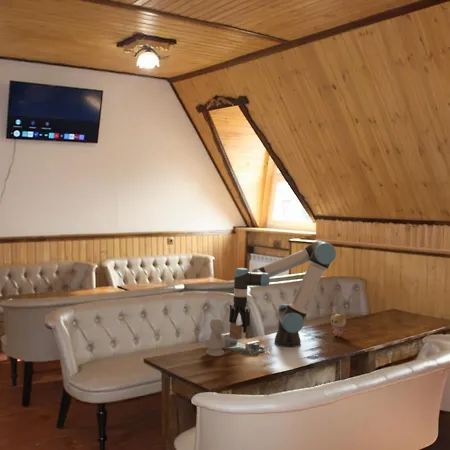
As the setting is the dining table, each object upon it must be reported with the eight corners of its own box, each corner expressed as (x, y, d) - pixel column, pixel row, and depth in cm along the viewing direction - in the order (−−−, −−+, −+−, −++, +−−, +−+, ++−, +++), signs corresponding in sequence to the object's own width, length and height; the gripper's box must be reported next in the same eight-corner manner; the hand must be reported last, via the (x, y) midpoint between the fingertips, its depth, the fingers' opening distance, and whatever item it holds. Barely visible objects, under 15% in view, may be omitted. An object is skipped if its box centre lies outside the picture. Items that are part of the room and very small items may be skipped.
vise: (234, 343, 340) (235, 331, 339) (264, 351, 325) (264, 338, 324) (220, 347, 331) (220, 334, 331) (249, 355, 316) (250, 342, 316)
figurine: (229, 353, 320) (230, 317, 319) (214, 357, 310) (216, 321, 309) (215, 349, 326) (217, 315, 325) (201, 354, 316) (202, 318, 315)
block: (240, 335, 335) (240, 321, 334) (248, 337, 330) (248, 323, 330) (229, 337, 328) (229, 323, 327) (237, 339, 324) (237, 325, 323)
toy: (326, 335, 365) (327, 311, 364) (335, 333, 371) (336, 310, 370) (339, 339, 358) (340, 314, 357) (348, 337, 364) (349, 313, 363)
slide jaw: (256, 347, 327) (256, 340, 327) (262, 349, 324) (263, 342, 323) (245, 350, 320) (245, 343, 320) (251, 352, 317) (251, 345, 316)
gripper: (223, 294, 331) (221, 334, 333) (248, 299, 319) (247, 341, 320) (232, 292, 337) (230, 332, 338) (257, 297, 324) (256, 339, 325)
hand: (238, 336), depth 329 cm, fingers closed on block, 6 cm apart
